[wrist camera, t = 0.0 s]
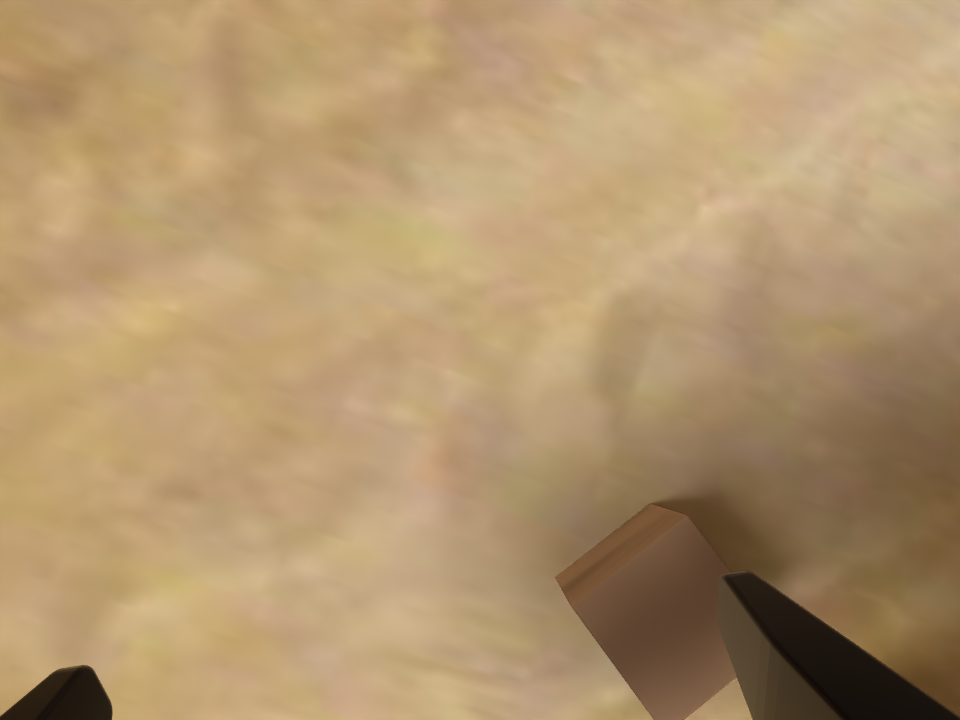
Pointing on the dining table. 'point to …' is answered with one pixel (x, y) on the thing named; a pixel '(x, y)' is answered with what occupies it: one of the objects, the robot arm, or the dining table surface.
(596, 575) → the pinkish brown block
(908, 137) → the dining table surface
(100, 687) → the robot arm
